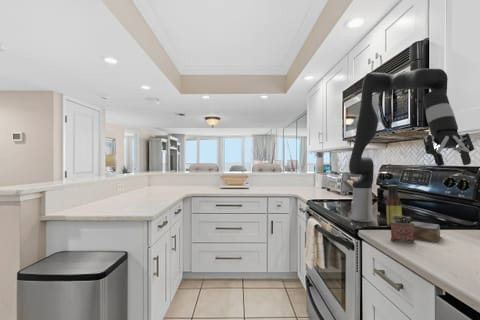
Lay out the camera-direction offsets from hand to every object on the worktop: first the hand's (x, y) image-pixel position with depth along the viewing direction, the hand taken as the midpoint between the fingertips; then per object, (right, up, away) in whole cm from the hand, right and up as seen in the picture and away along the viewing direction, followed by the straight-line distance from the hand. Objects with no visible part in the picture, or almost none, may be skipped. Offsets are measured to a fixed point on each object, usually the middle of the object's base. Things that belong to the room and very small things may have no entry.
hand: (454, 165), depth 87 cm
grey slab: (+6, -30, +23) cm, 38 cm away
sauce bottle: (+3, -30, +39) cm, 50 cm away
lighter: (-6, -30, +18) cm, 36 cm away
